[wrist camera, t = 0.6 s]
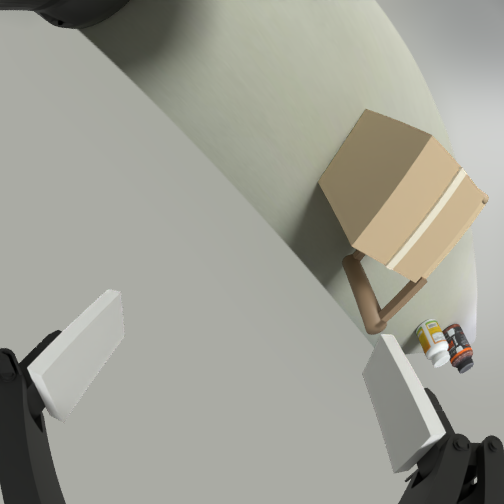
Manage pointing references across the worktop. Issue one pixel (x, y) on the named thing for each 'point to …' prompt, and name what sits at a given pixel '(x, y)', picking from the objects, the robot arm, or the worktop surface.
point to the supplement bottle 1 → (433, 342)
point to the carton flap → (369, 304)
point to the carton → (398, 194)
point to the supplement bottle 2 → (458, 348)
